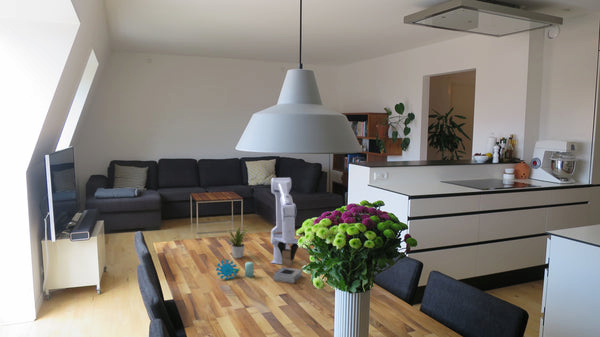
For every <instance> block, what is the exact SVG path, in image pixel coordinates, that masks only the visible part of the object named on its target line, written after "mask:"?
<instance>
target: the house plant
mask: <svg viewBox="0 0 600 337" xmlns="http://www.w3.org/2000/svg"><path fill="white" fill-rule="evenodd" d="M247 229H248V227H247V228H245V229H244V230H243V231H241V228H240V226H238V227H235V230H236V231H235V235H234V234H233V232H232V231H231V230H229V229H227V232H228V234H230V238H228V239H227V240H228V242H231V243H232V244H231V253H232V258H235V259H241V258H243V257H244V253H245V252H244V251H245V246H246V245H245V244H244V242H246V241H247V240H249V239H250V237H248V238H245V236H246V235H249V234H250V233H248V232H251V230H249V229H248V230H247Z"/></svg>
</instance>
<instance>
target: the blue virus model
mask: <svg viewBox="0 0 600 337" xmlns="http://www.w3.org/2000/svg"><path fill="white" fill-rule="evenodd" d="M215 271H217V273H216V274H217V276H219V277H220V280H222V279H224V280H225V281H228V280H229V279H230V280H233V279H234V277H236V276H237V275H238V273H239V272H240V271H241V268H240V267H238V268H237V264H236V263H235V264H234V261H233V260H229V259H225V260H221V261H220V262H219V263H217V267H216V269H215ZM229 276H230V277H229ZM224 277H225V278H224Z"/></svg>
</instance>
